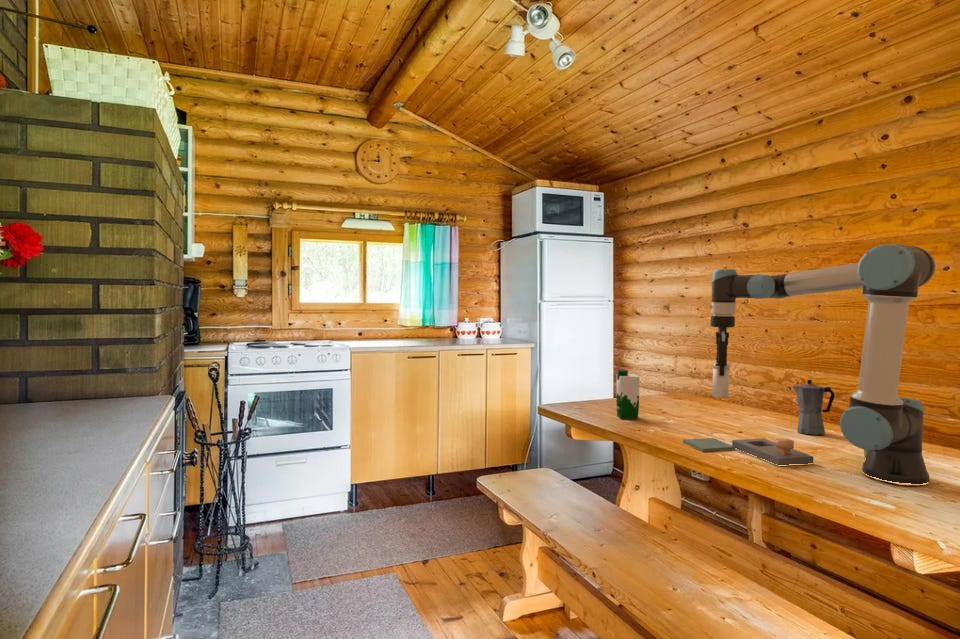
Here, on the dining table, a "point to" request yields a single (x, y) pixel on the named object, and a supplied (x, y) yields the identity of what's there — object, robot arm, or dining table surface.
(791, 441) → the brown mushroom
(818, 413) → the moka pot
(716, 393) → the cylinder
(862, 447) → the robot arm
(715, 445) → the mat
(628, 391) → the milk carton
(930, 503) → the dining table surface
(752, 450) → the housing
